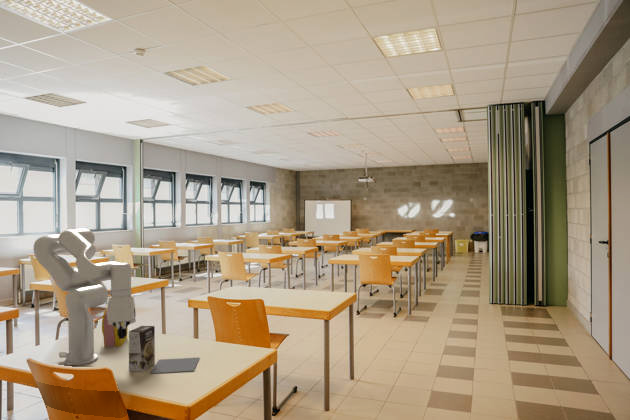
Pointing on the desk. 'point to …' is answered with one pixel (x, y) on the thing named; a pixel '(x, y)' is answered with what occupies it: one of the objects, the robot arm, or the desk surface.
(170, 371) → the mat
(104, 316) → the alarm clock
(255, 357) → the desk surface
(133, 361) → the coffee box
